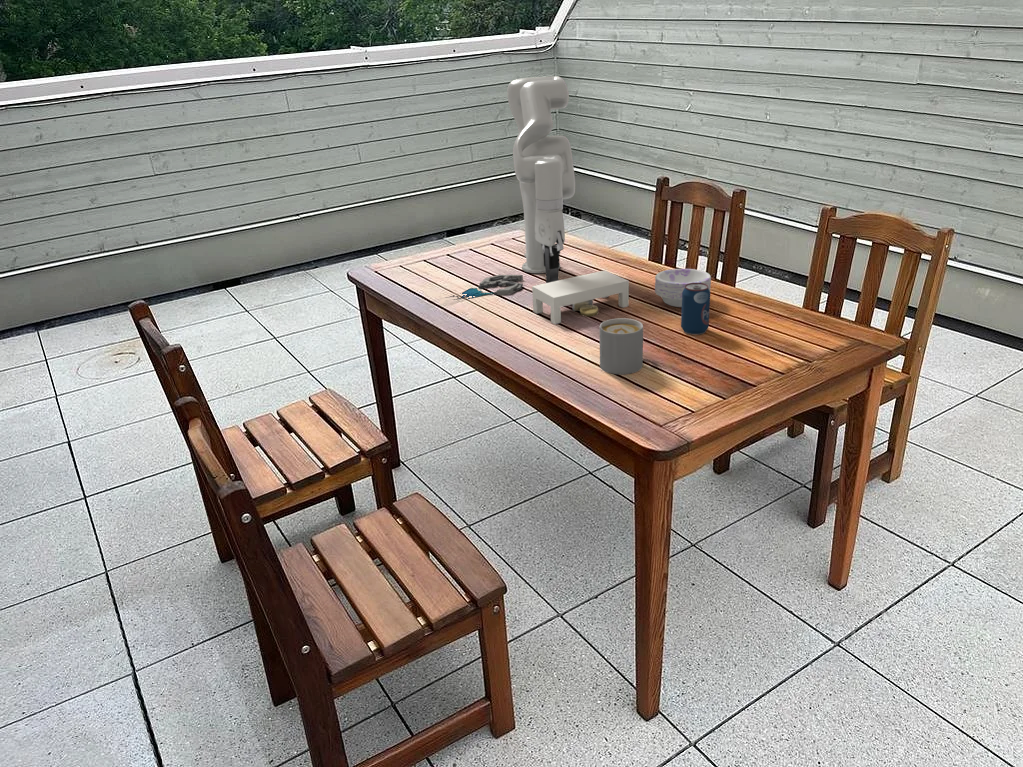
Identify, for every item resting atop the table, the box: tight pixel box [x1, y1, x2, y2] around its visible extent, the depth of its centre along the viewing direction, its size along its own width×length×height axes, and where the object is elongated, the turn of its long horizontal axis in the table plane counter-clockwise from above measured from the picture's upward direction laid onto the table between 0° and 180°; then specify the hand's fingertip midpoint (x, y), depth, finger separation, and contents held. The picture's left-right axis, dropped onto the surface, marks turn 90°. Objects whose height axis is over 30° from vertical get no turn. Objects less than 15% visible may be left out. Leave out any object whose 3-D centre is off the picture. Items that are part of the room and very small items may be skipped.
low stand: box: [531, 270, 630, 325], centre depth 216 cm, size 12×24×8 cm, turn 117°
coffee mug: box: [599, 317, 644, 375], centre depth 180 cm, size 13×10×10 cm
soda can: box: [680, 283, 711, 336], centre depth 196 cm, size 7×7×12 cm
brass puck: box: [579, 304, 599, 318], centre depth 214 cm, size 5×5×2 cm
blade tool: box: [545, 246, 594, 312], centre depth 221 cm, size 19×6×14 cm, turn 27°
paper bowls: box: [654, 268, 712, 308], centre depth 216 cm, size 15×15×8 cm
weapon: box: [459, 274, 524, 300], centre depth 236 cm, size 34×2×15 cm
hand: (551, 266), depth 227 cm, fingers closed on blade tool
